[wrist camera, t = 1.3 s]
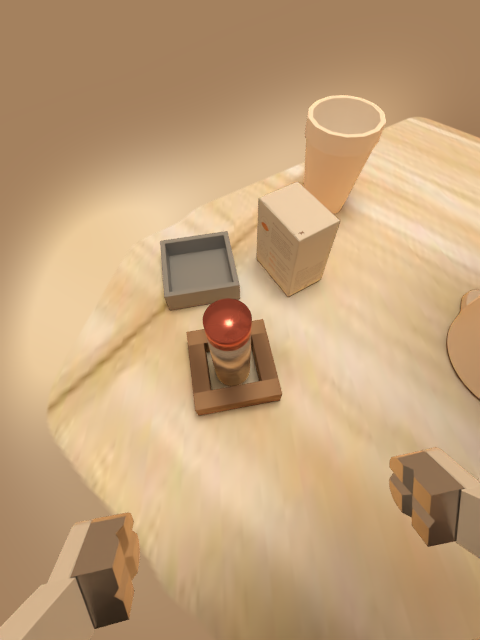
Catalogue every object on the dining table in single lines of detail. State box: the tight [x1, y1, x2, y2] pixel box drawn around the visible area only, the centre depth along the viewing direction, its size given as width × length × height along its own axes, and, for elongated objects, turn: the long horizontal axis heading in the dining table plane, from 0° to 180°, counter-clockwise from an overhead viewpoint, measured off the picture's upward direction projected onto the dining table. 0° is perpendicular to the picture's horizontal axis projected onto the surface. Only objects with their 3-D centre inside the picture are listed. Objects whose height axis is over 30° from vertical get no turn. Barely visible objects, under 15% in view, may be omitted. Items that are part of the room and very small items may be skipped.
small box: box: [257, 182, 340, 297], centre depth 38 cm, size 8×6×10 cm
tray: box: [160, 231, 240, 310], centre depth 40 cm, size 9×9×3 cm
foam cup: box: [304, 95, 386, 214], centre depth 43 cm, size 10×9×13 cm
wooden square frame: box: [187, 319, 282, 416], centre depth 34 cm, size 9×9×2 cm
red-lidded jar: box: [203, 298, 252, 386], centre depth 30 cm, size 4×4×12 cm
